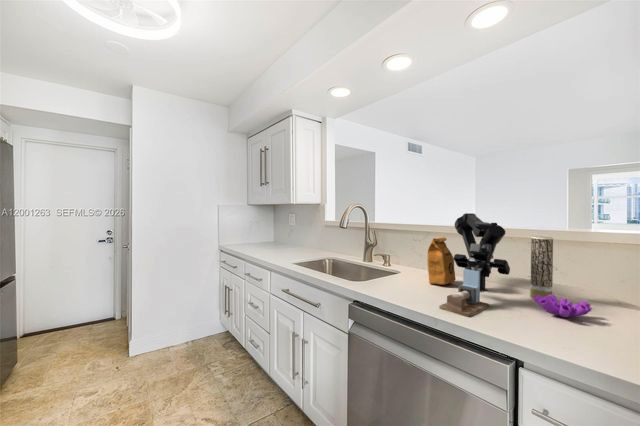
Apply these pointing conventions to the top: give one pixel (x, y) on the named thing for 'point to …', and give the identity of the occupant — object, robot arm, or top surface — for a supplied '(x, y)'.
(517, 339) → the top surface
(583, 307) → the purple coral
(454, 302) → the pipe stand
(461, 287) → the dark grey block
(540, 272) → the paper tube
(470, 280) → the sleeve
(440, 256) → the coffee package
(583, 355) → the top surface
